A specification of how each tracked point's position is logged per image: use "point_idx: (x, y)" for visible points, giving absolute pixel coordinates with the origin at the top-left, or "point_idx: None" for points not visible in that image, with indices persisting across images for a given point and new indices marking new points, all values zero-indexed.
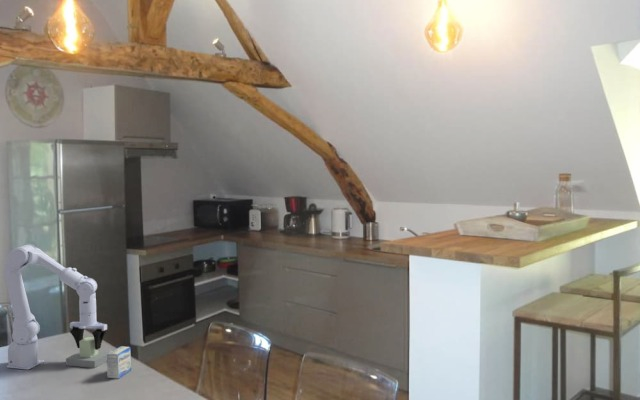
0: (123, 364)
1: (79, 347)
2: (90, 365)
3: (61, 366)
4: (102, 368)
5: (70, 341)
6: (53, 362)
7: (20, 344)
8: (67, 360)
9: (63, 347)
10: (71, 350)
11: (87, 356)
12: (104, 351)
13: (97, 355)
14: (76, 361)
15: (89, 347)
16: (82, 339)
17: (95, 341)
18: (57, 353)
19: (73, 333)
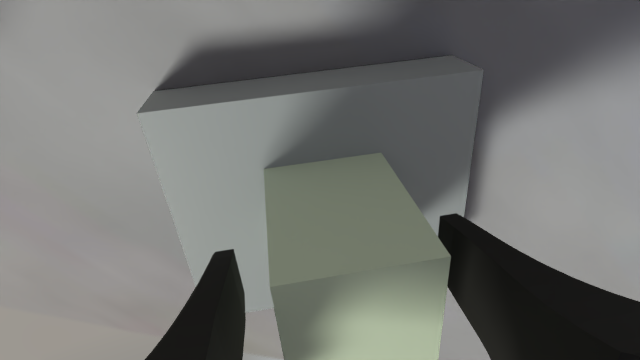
0: None
1: (441, 224)
2: (199, 91)
3: (477, 19)
4: (79, 108)
5: None
6: (590, 71)
7: None
8: (459, 68)
9: (637, 282)
10: (568, 271)
11: (298, 169)
12: (267, 303)
13: (249, 229)
14: (357, 79)
15: (278, 230)
16: (441, 302)
17: (199, 319)
18: (634, 209)
19: (627, 323)
